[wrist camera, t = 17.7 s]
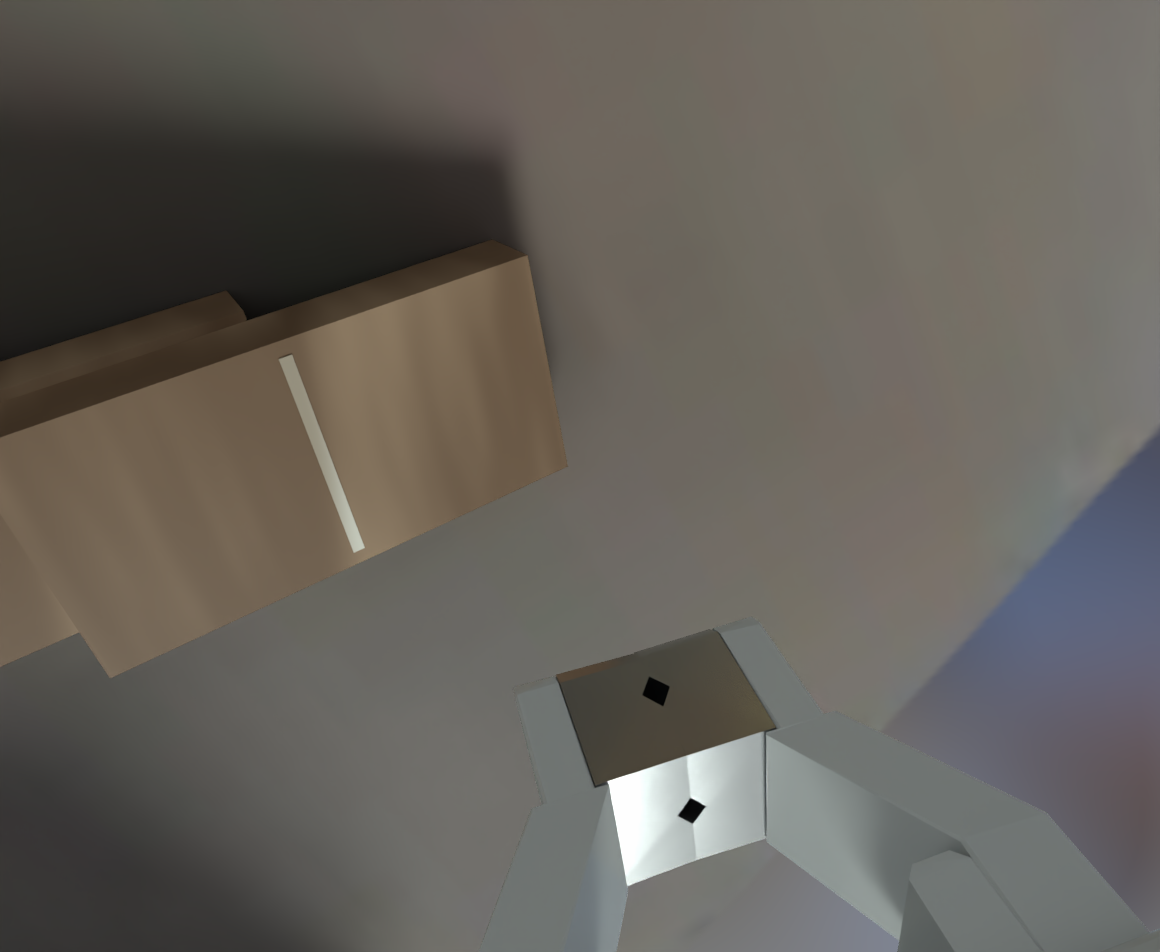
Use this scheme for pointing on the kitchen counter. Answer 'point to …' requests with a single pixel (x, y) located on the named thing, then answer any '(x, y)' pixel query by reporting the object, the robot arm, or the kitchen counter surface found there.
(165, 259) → the kitchen counter surface
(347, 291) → the domino
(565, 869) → the robot arm
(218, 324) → the domino
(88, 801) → the kitchen counter surface
